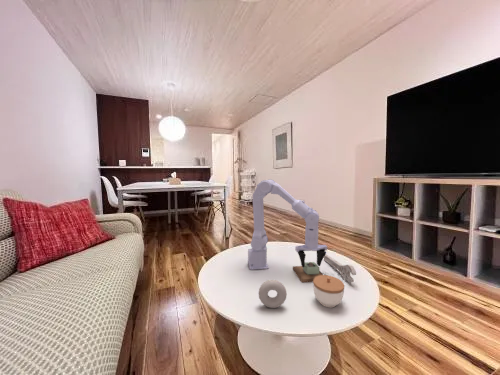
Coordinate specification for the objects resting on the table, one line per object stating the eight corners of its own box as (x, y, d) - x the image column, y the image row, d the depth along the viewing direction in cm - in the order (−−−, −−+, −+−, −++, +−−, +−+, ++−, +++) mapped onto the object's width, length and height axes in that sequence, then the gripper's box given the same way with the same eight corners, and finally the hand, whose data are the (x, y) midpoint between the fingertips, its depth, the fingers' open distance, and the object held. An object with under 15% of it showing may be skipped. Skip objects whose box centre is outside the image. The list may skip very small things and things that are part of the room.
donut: (285, 304, 77) (286, 278, 76) (287, 310, 74) (287, 283, 73) (258, 303, 77) (258, 277, 76) (258, 309, 74) (258, 282, 73)
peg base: (301, 282, 91) (302, 270, 91) (292, 269, 103) (293, 258, 103) (325, 280, 93) (326, 268, 92) (314, 268, 105) (314, 257, 104)
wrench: (324, 263, 117) (356, 287, 87) (321, 263, 117) (352, 287, 87) (324, 248, 117) (356, 267, 87) (321, 248, 117) (352, 267, 87)
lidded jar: (307, 302, 78) (308, 278, 77) (320, 290, 86) (320, 268, 85) (336, 316, 71) (338, 290, 70) (347, 301, 79) (348, 277, 78)
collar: (307, 274, 95) (307, 268, 95) (302, 268, 100) (302, 262, 100) (319, 273, 96) (319, 267, 95) (313, 267, 101) (314, 261, 101)
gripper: (299, 240, 92) (298, 270, 93) (330, 239, 94) (329, 268, 95) (294, 235, 99) (293, 263, 100) (323, 234, 100) (322, 261, 102)
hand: (310, 265), depth 98 cm, fingers open, 7 cm apart
